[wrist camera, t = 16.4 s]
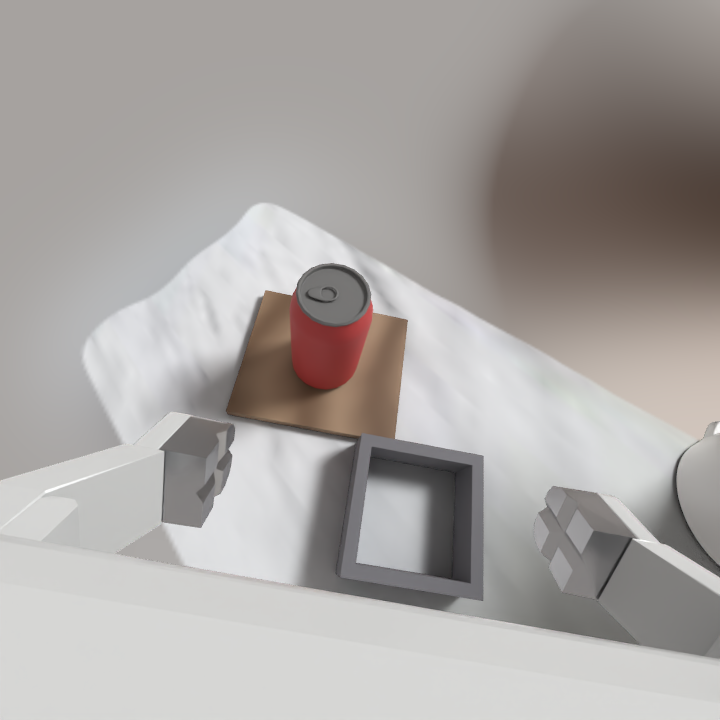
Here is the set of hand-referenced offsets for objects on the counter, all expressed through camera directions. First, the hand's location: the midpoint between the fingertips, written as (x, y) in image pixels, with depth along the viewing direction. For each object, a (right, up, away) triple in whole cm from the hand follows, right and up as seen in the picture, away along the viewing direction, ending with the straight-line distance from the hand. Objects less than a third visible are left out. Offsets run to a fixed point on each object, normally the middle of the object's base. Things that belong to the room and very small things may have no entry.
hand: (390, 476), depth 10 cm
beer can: (-4, +3, +29) cm, 29 cm away
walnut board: (-4, +2, +30) cm, 30 cm away
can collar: (+3, -11, +25) cm, 27 cm away
